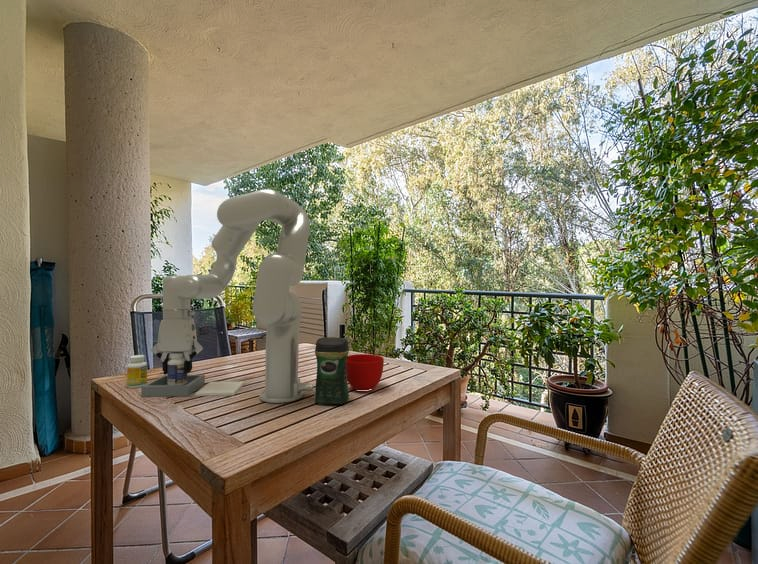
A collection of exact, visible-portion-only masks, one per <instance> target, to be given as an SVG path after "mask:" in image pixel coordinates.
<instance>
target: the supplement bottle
mask: <svg viewBox="0 0 758 564" xmlns="http://www.w3.org/2000/svg"><path fill="white" fill-rule="evenodd" d="M145 357H146V356H145V354H136V355H131V356H129V362H128V364H127V366H126V387H127V388H129V389H137V388H138V389H139V388H141V387H142V386H144V385H146V384H148V382H147V380H148V379H147V378H148V377H147V375H148V363H147V362H146V361H145V359H146V358H145Z"/></svg>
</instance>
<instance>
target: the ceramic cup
mask: <svg viewBox="0 0 758 564" xmlns="http://www.w3.org/2000/svg"><path fill="white" fill-rule="evenodd" d="M384 363H385V358H384V357H382V356H381V355H377V354H369V353H367V354H366V353H364V354H363V353H362V354H361V353H358V354H350V355H349V354H348V356H347V360H346V371H347V382H348V384H349V385H350V387H352V389H353V388H354V389H356V390H369V389H373V388H374V389H375V388H376V387H377V385H378V384H379V383H380V381H381V379H382V376H383V372H384ZM354 389H353V390H354ZM374 389H373V390H374Z"/></svg>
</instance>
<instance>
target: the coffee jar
mask: <svg viewBox="0 0 758 564" xmlns="http://www.w3.org/2000/svg"><path fill="white" fill-rule="evenodd" d="M314 349H315V350H314V355H315V357H316V379H315V387H314V402H315V403H316V404H317V403H318V405H323V404H341V405H344V404H346V403H347V402H348V400H349V386H348V384H349V383H348V381H347V371H346V360H347V356H349V354H350V353H349V352H350V349H349V341H348V339H347V338H346V337H334V336H332V337H331V336H330V337H320V338H318V339H317V340H316V342H315V347H314ZM345 402H346V403H345ZM343 403H344V404H343Z"/></svg>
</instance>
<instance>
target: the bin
mask: <svg viewBox="0 0 758 564" xmlns="http://www.w3.org/2000/svg"><path fill="white" fill-rule="evenodd" d="M205 385H206V375H205V374H187V383H186V384H183V385H168V374H166V375H164V374H162V375H161V376H159V377H158V378H155V379H154V380H152V381H149V382H147V384H146V385H144V386H142V387H140V388H141V389H140V390H141V394H140V395H141V396H140V397H141V398H147V397H146V396H157V398H158V397H159V396H160V397H161V396H175V397H189V396H190V395H191V394H193V393H195V392H197V390H198V389H201V388H202V386H205ZM161 398H162V397H161Z"/></svg>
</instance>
